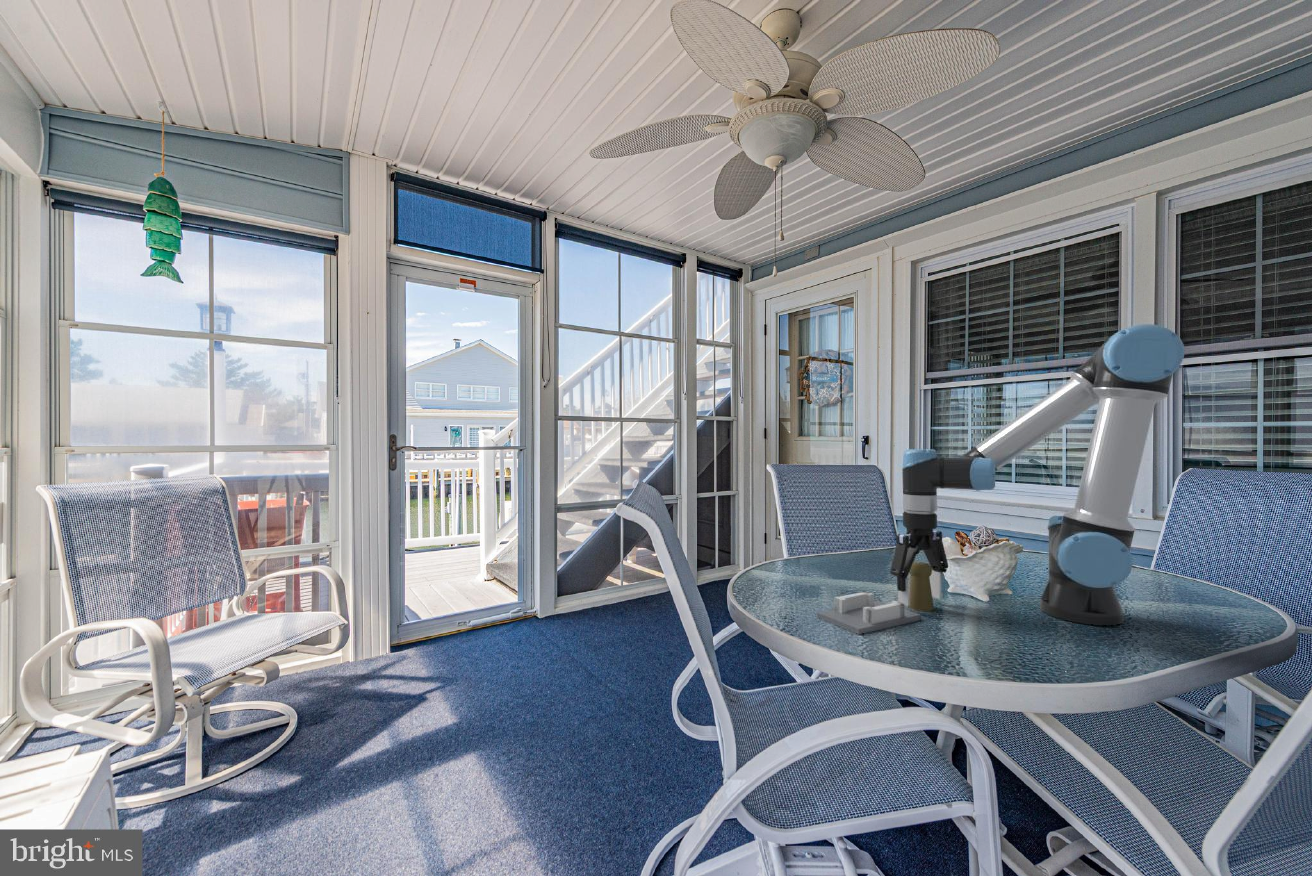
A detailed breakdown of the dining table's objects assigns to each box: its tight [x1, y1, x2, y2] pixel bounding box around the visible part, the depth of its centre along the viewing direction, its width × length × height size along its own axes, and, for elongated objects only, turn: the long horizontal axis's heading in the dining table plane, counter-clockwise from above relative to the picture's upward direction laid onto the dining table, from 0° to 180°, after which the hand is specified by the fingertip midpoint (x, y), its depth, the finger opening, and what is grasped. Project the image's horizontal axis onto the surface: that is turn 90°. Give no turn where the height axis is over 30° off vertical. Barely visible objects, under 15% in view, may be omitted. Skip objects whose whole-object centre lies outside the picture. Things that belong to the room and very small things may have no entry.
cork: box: [906, 561, 935, 612], centre depth 128 cm, size 6×6×11 cm
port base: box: [816, 591, 922, 636], centre depth 119 cm, size 12×20×4 cm, turn 117°
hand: (920, 601), depth 127 cm, fingers open, 11 cm apart
